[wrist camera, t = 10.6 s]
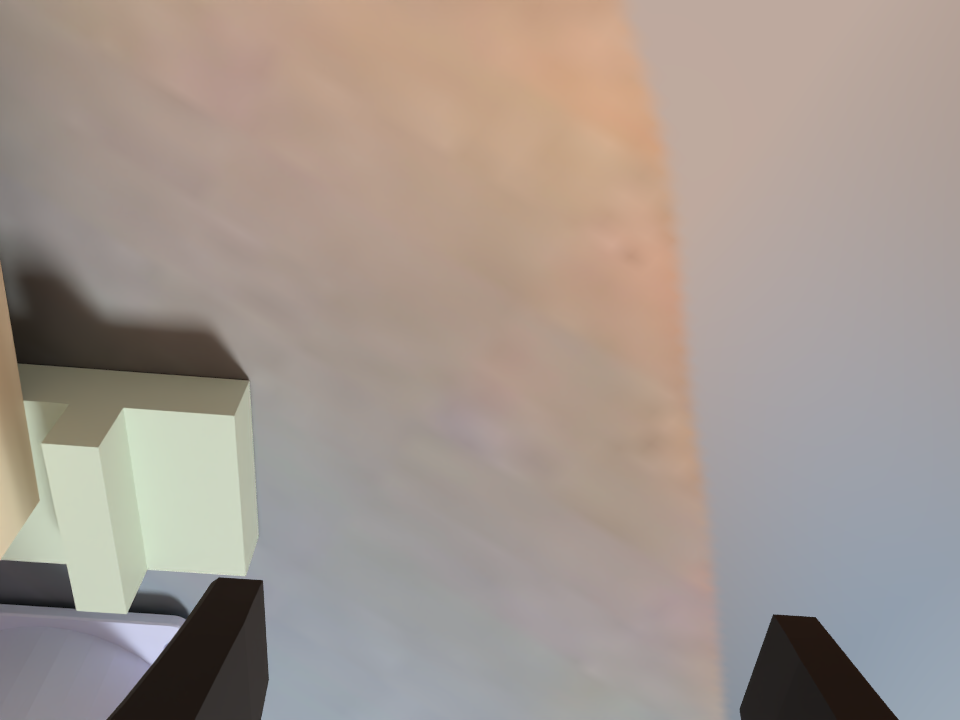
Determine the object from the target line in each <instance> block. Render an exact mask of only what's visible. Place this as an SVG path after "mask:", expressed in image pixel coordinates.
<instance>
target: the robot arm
mask: <svg viewBox="0 0 960 720" xmlns="http://www.w3.org/2000/svg"><path fill="white" fill-rule="evenodd" d="M268 680H269V676H268V659H267V642H266V625H265V608H264V591H263V580H250V579H235V578H220V577H219V578H218V579H216V580H215V581H213V582H212V583H211V584H210V586H209V587H208V589H207V590H206V592H205V593H204V595H203V596H202V598H201V599H200V601H199V602H198V603H197V605H196V606H195V608H194V609H193V611H192V612H191V613H190V615H189V616H188V618H187V619H184V618H182V617H180V616H175V615H162V614H146V613H131V612H128V613H127V614H116V613H101V612H85V611H76V609H70V608H54V607H39V606H24V605H8V604H0V720H261V716H262V711H263V706H264V701H265V696H266V691H267V686H268ZM740 715H741V720H898V718H897V717H896V716H895V715H894V714H893V712H892V711H891V710H890V709H889V708H888V707H887V705H886V704H885V703H884V701H883V700H882V699H881V698H880V696H879V695H878V694H877V693H876V692H875V691H874V689H873V688H872V687H871V685H870V684H869V683H868V682H867V681H866V679H865V678H864V677H863V676H862V674H861V673H860V672H859V671H858V669H857V668H856V667H855V666H854V665H853V663H852V662H851V661H850V659H849V658H848V657H847V656H846V654H845V653H844V652H843V651H842V650H841V648H840V647H839V646H838V644H837V643H836V642H835V641H834V639H833V638H832V637H831V636H830V634H829V633H828V632H827V631H826V630H825V628H824V627H823V626H822V625H821V623H820V622H819V621H818V620H817V618H816V617H804V616H788V615H773V617H772V619H771V622H770V625H769V628H768V631H767V633H766V636H765V639H764V642H763V645H762V647H761V650H760V653H759V656H758V659H757V662H756V664H755V667H754V670H753V673H752V676H751V679H750V682H749V684H748V687H747V690H746V693H745V695H744V698H743V701H742V704H741V707H740Z"/></svg>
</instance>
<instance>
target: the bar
mask: <svg viewBox="0 0 960 720" xmlns="http://www.w3.org/2000/svg"><path fill="white" fill-rule="evenodd" d="M39 501H40V498H39V492H38V486H37V480H36V474H35V468H34V462H33V456H32V450H31V444H30V438H29V432H28V426H27V420H26V414H25V408H24V402H23V395H22V389H21V383H20V377H19V371H18V365H17V359H16V353H15V347H14V341H13V335H12V329H11V323H10V317H9V311H8V305H7V299H6V292H5V286H4V280H3V274H2V268H1V262H0V560H1V558H2V557H3V555H4V554H5V552H6V551H7V549H8V548H9V546H10V545H11V543H12V542H13V540H14V539H15V537H16V536H17V534H18V533H19V531H20V530H21V528H22V527H23V525H24V524H25V522H26V521H27V519H28V518H29V516H30V515H31V513H32V512H33V510H34V509H35V507H36V506H37V504H38V503H39Z"/></svg>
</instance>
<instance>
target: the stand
mask: <svg viewBox="0 0 960 720" xmlns="http://www.w3.org/2000/svg"><path fill="white" fill-rule="evenodd" d="M17 365H18V371H19V377H20V383H21V389H22V395H23V402H24V408H25V414H26V420H27V426H28V432H29V438H30V444H31V450H32V456H33V462H34V468H35V474H36V480H37V486H38V492H39V498H40V501H39V503H38V504H37V506H36V507H35V509H34V510H33V512H32V513H31V515H30V516H29V518H28V519H27V521H26V522H25V524H24V525H23V527H22V528H21V530H20V531H19V533H18V534H17V536H16V537H15V539H14V540H13V542H12V543H11V545H10V546H9V548H8V549H7V551H6V552H5V554H4V555H3V557H2V558H1V560H11V561H26V562H41V563H56V564H67V569H68V573H69V578H70V583H71V587H72V592H73V597H74V602H75V606H76V611H85V612H101V613H116V614H127V613H128V611H129V608H130V606H131V604H132V602H133V600H134V598H135V595H136V593H137V591H138V589H139V587H140V585H141V582H142V580H143V578H144V576H145V574H146V571H147V570H161V571H176V572H191V573H206V574H220V575H235V576H246V574H247V571H248V568H249V565H250V562H251V559H252V556H253V552H254V549H255V546H256V543H257V540H258V537H259V531H258V515H257V498H256V481H255V465H254V448H253V431H252V415H251V398H250V381H247V380H234V379H220V378H207V377H194V376H180V375H167V374H153V373H140V372H126V371H113V370H99V369H86V368H72V367H59V366H45V365H32V364H19V363H17Z"/></svg>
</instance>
